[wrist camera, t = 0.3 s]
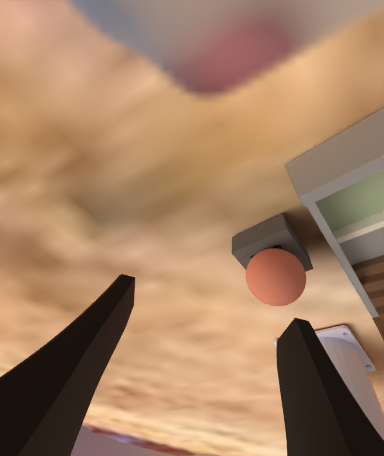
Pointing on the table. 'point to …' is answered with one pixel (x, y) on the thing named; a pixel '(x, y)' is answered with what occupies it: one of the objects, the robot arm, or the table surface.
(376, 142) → the slate lane
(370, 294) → the walnut step ramp
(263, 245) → the square tube segment
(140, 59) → the table surface
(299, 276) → the brick-red rubber ball
